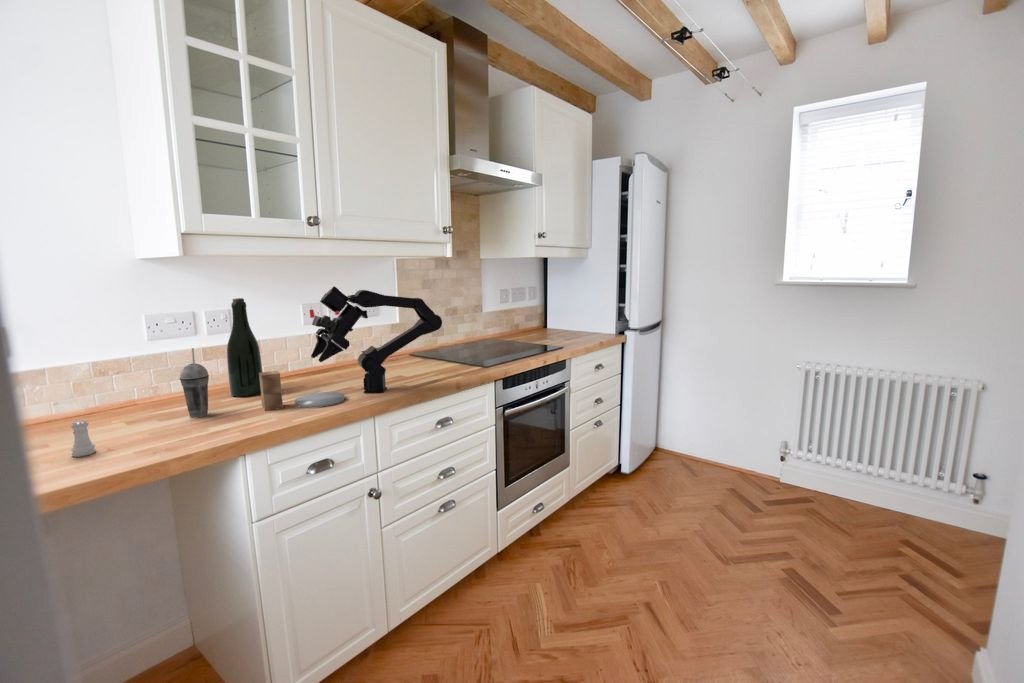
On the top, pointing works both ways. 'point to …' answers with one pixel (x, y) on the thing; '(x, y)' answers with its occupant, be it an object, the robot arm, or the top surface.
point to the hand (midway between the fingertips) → (315, 359)
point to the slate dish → (319, 399)
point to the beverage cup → (195, 388)
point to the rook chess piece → (81, 440)
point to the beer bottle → (243, 354)
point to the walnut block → (270, 390)
